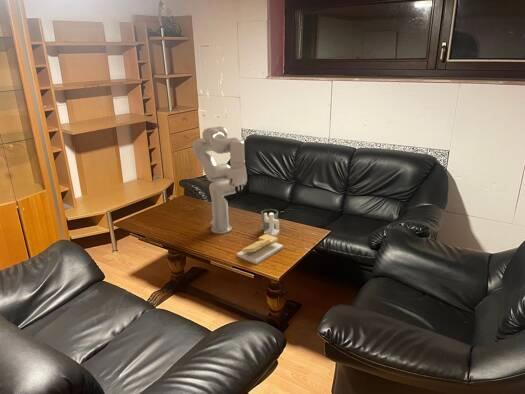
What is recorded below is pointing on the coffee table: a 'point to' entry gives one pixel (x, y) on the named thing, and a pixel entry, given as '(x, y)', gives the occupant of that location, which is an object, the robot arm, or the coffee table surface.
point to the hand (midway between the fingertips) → (239, 196)
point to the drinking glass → (265, 224)
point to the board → (261, 253)
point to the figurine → (271, 225)
